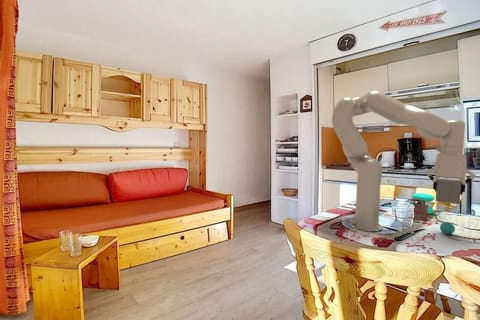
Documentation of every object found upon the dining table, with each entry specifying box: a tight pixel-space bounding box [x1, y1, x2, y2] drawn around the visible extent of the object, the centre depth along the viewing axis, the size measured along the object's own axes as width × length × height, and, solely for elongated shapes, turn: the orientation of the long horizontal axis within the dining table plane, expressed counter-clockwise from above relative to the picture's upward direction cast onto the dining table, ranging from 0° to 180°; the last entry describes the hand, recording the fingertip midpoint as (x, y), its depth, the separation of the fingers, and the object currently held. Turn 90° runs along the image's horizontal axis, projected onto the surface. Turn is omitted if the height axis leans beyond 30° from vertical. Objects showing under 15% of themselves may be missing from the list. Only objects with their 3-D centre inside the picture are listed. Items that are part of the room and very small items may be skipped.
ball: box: [439, 221, 456, 235], centre depth 112 cm, size 5×5×5 cm
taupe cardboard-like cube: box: [435, 177, 462, 205], centre depth 111 cm, size 8×8×9 cm
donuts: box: [411, 192, 435, 215], centre depth 146 cm, size 10×10×10 cm
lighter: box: [409, 197, 429, 221], centre depth 134 cm, size 8×3×10 cm, turn 58°
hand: (448, 192), depth 111 cm, fingers closed on taupe cardboard-like cube, 7 cm apart
